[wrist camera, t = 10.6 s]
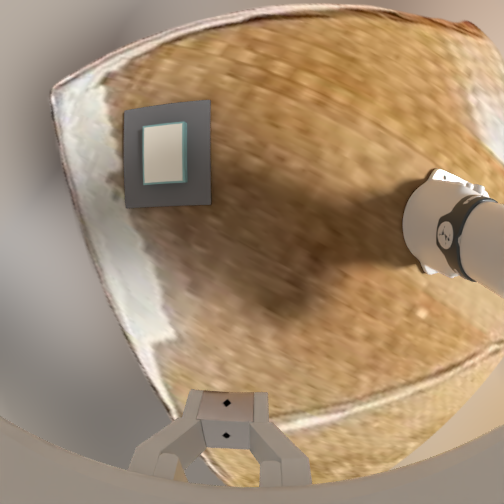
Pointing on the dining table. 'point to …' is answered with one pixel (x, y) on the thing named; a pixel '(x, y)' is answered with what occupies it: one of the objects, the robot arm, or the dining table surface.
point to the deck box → (165, 153)
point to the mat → (197, 155)
